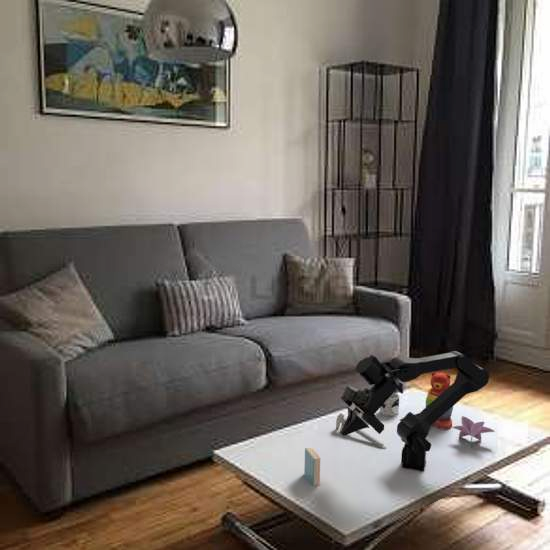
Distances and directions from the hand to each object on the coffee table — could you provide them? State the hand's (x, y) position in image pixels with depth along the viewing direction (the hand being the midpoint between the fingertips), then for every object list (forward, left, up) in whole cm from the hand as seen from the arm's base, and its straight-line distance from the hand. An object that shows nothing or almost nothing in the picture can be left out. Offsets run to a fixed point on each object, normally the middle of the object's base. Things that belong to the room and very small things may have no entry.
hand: (341, 434), depth 179 cm
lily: (-35, -36, -13) cm, 52 cm away
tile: (+7, +5, -13) cm, 15 cm away
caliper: (0, -27, -13) cm, 30 cm away
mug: (-6, -54, -13) cm, 56 cm away
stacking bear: (-23, -50, -13) cm, 57 cm away
